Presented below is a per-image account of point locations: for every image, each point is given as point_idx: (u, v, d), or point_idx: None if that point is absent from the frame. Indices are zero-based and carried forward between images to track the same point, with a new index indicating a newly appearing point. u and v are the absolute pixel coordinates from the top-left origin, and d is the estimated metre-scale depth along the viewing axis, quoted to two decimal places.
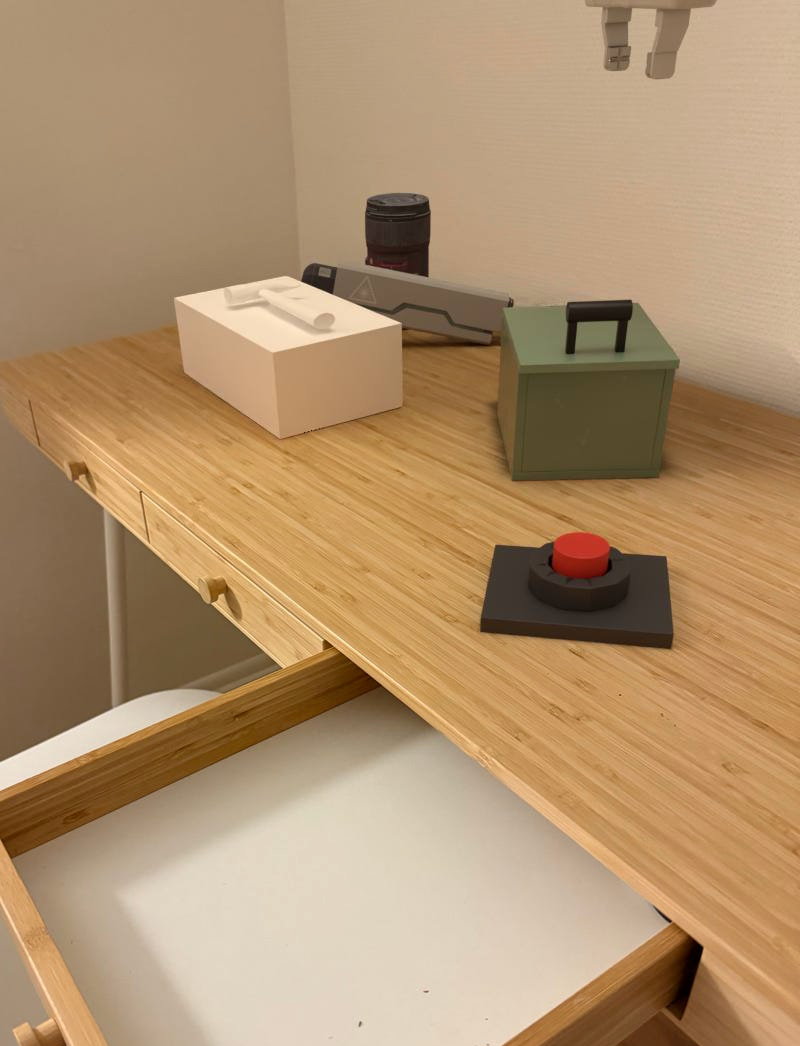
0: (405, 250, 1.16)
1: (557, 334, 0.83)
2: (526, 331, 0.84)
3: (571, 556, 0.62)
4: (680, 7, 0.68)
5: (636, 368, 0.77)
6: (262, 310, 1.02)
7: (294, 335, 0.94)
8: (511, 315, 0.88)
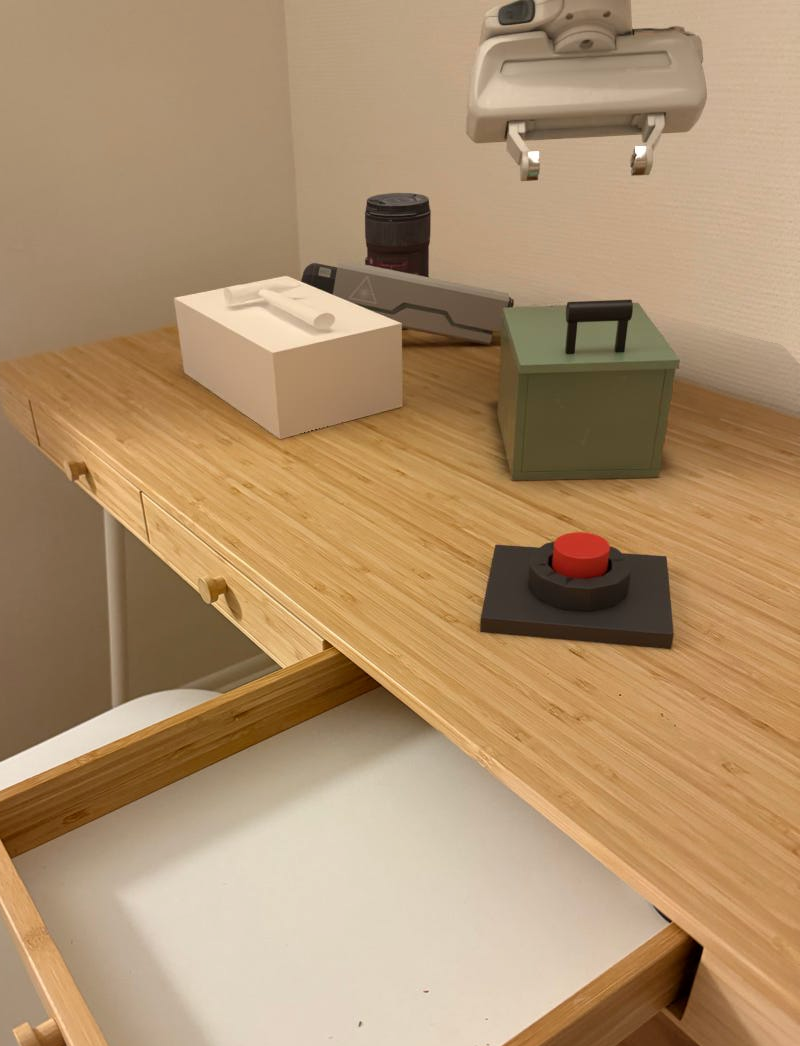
0: (405, 249, 1.16)
1: (557, 334, 0.83)
2: (526, 331, 0.84)
3: (571, 556, 0.62)
4: (698, 110, 0.81)
5: (636, 368, 0.77)
6: (262, 310, 1.02)
7: (294, 335, 0.94)
8: (511, 315, 0.88)
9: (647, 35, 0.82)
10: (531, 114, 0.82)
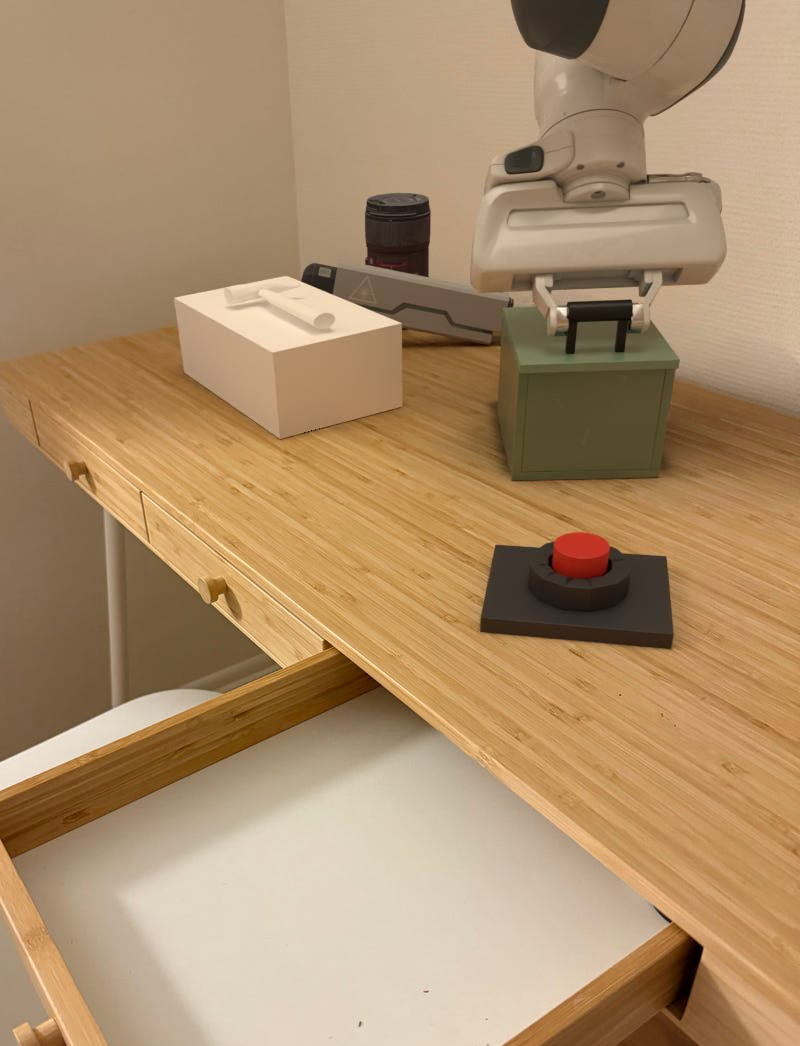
0: (405, 249, 1.16)
1: None
2: (526, 331, 0.84)
3: (571, 556, 0.62)
4: (718, 266, 0.76)
5: (636, 368, 0.77)
6: (262, 310, 1.02)
7: (294, 335, 0.94)
8: (511, 315, 0.88)
9: (663, 184, 0.77)
10: (539, 269, 0.77)
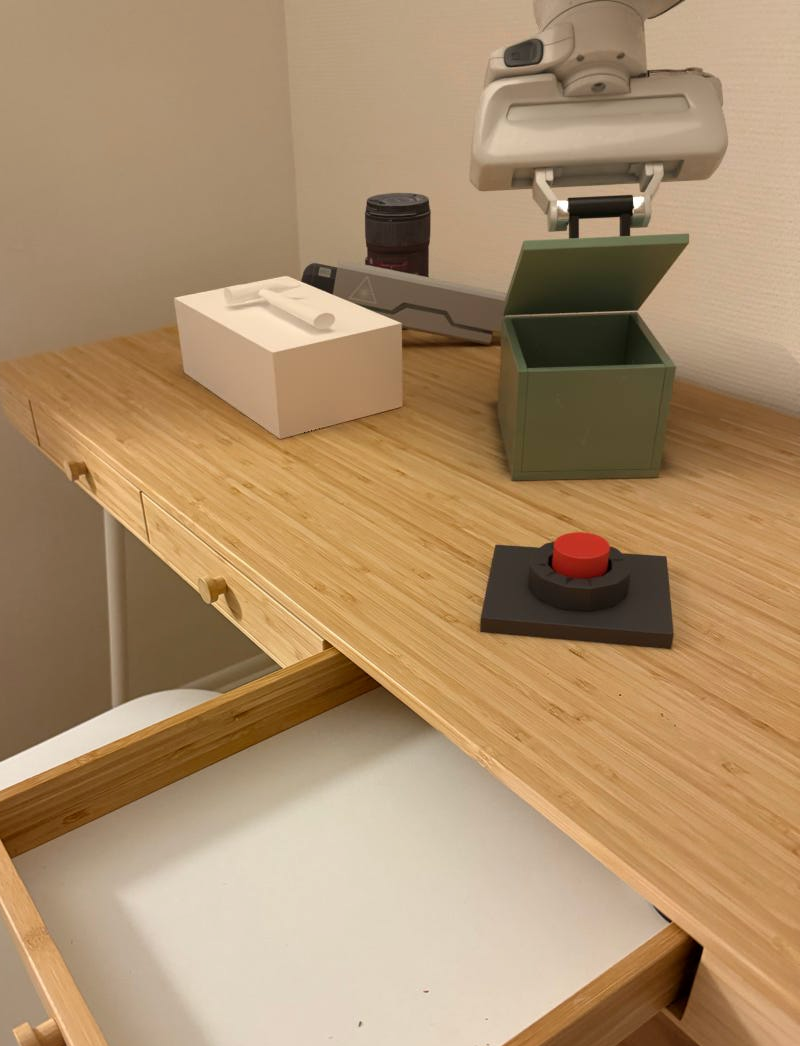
0: (405, 249, 1.16)
1: None
2: None
3: (571, 556, 0.62)
4: (719, 157, 0.76)
5: (645, 243, 0.74)
6: (262, 310, 1.02)
7: (294, 335, 0.94)
8: None
9: (663, 77, 0.77)
10: (540, 162, 0.76)
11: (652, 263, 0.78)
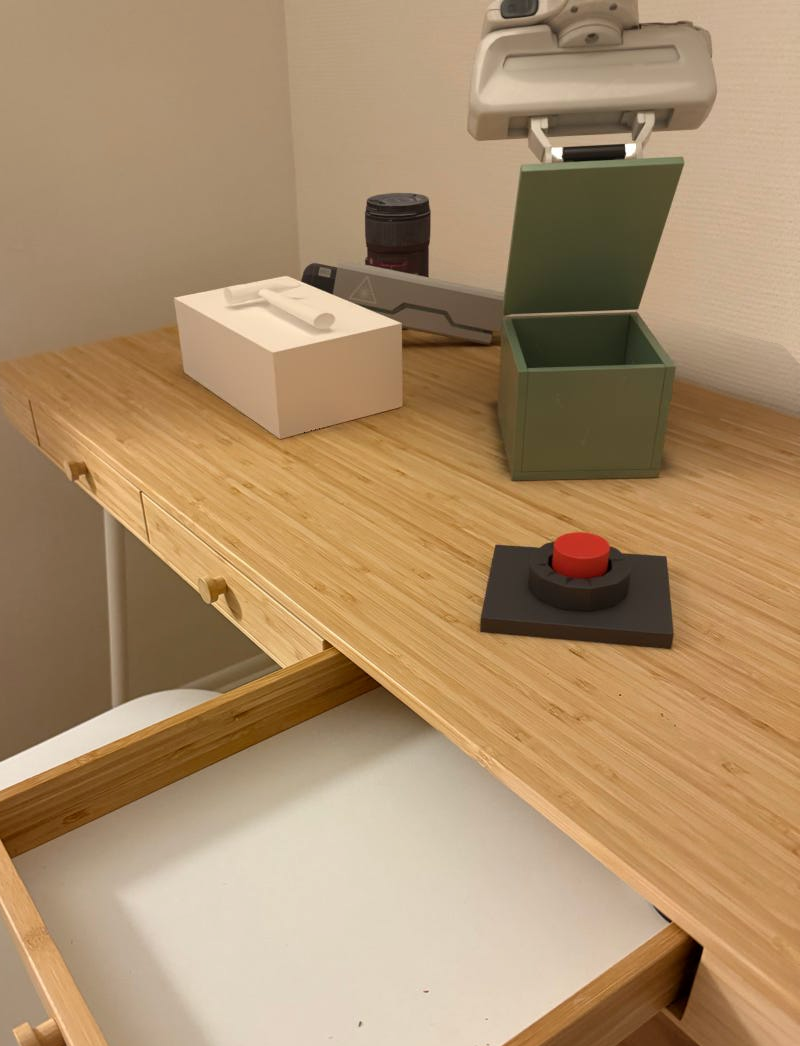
0: (405, 249, 1.16)
1: None
2: None
3: (571, 556, 0.62)
4: (708, 106, 0.78)
5: (640, 164, 0.75)
6: (262, 310, 1.02)
7: (294, 335, 0.94)
8: None
9: (655, 29, 0.79)
10: (535, 110, 0.79)
11: (650, 205, 0.78)
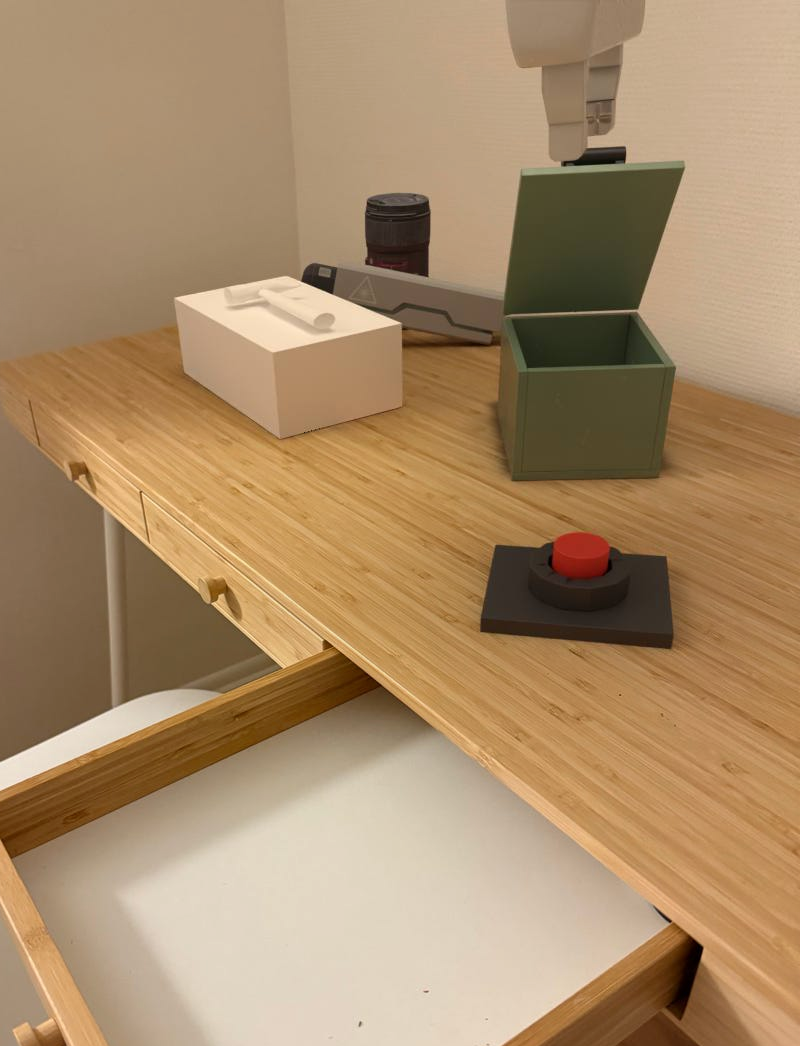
0: (405, 249, 1.16)
1: None
2: None
3: (571, 556, 0.62)
4: None
5: (641, 168, 0.75)
6: (262, 310, 1.02)
7: (294, 335, 0.94)
8: None
9: None
10: (602, 51, 0.48)
11: (650, 208, 0.78)
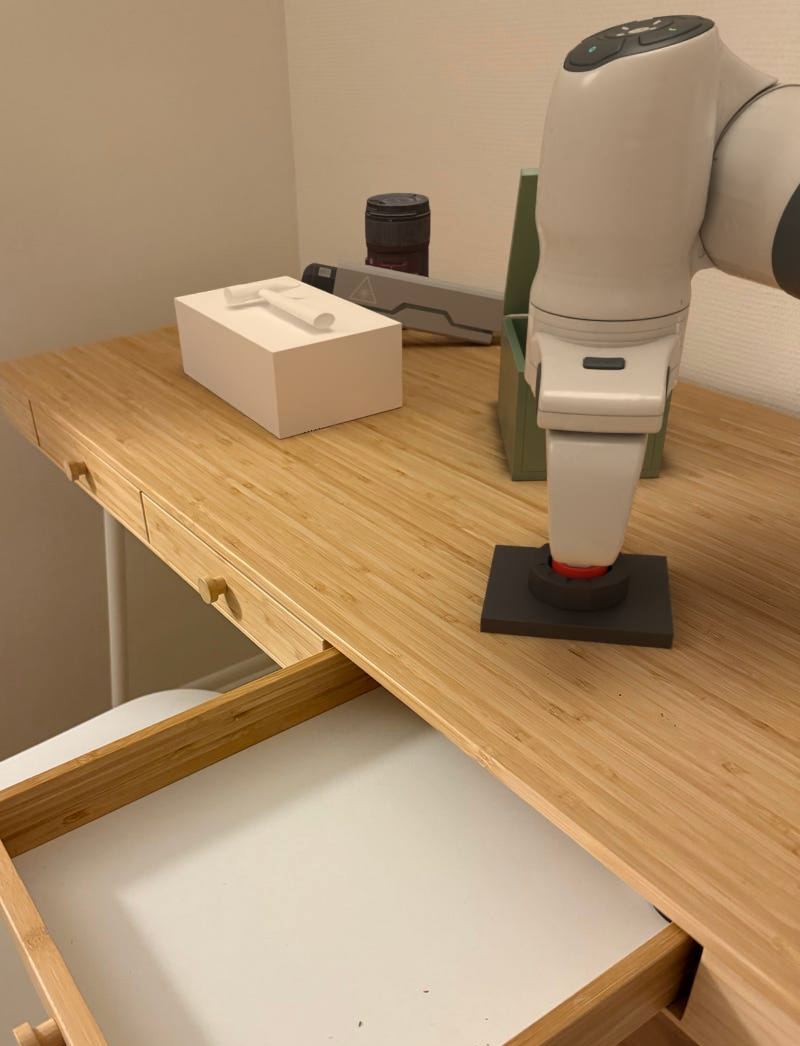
0: (405, 249, 1.16)
1: None
2: None
3: (569, 568, 0.63)
4: None
5: None
6: (262, 310, 1.02)
7: (294, 335, 0.94)
8: None
9: None
10: None
11: None
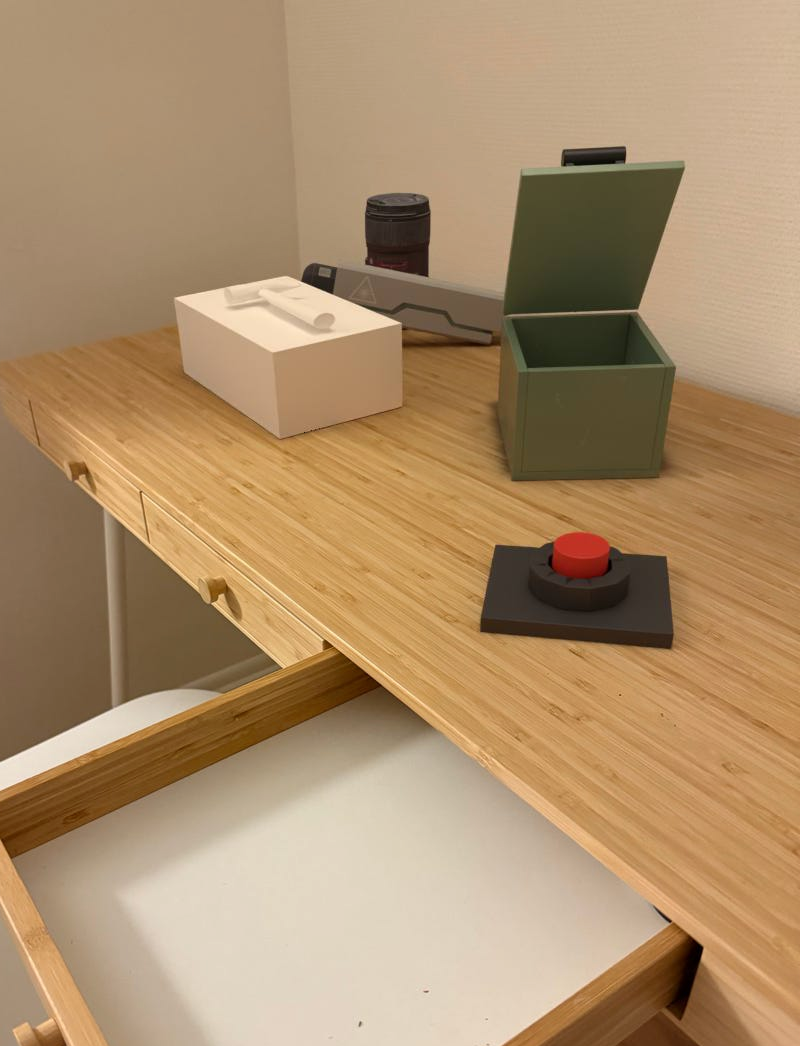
0: (405, 249, 1.16)
1: None
2: None
3: (571, 556, 0.62)
4: None
5: (641, 168, 0.75)
6: (262, 310, 1.02)
7: (294, 335, 0.94)
8: None
9: None
10: None
11: (650, 208, 0.78)
